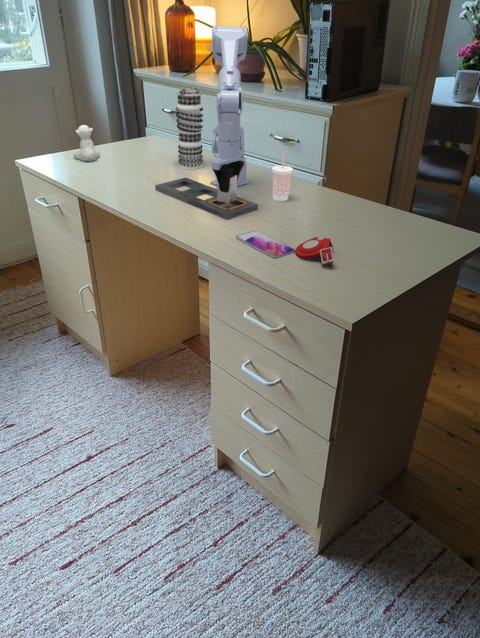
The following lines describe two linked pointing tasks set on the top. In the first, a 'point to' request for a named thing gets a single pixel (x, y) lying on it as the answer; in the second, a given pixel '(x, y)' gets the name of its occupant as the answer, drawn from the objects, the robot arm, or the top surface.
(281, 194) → the beverage cup
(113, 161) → the top surface
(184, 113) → the decorative candle
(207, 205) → the rail
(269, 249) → the smartphone
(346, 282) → the top surface
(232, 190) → the block
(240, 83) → the robot arm
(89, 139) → the white creature statuette
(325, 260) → the tracker holder
